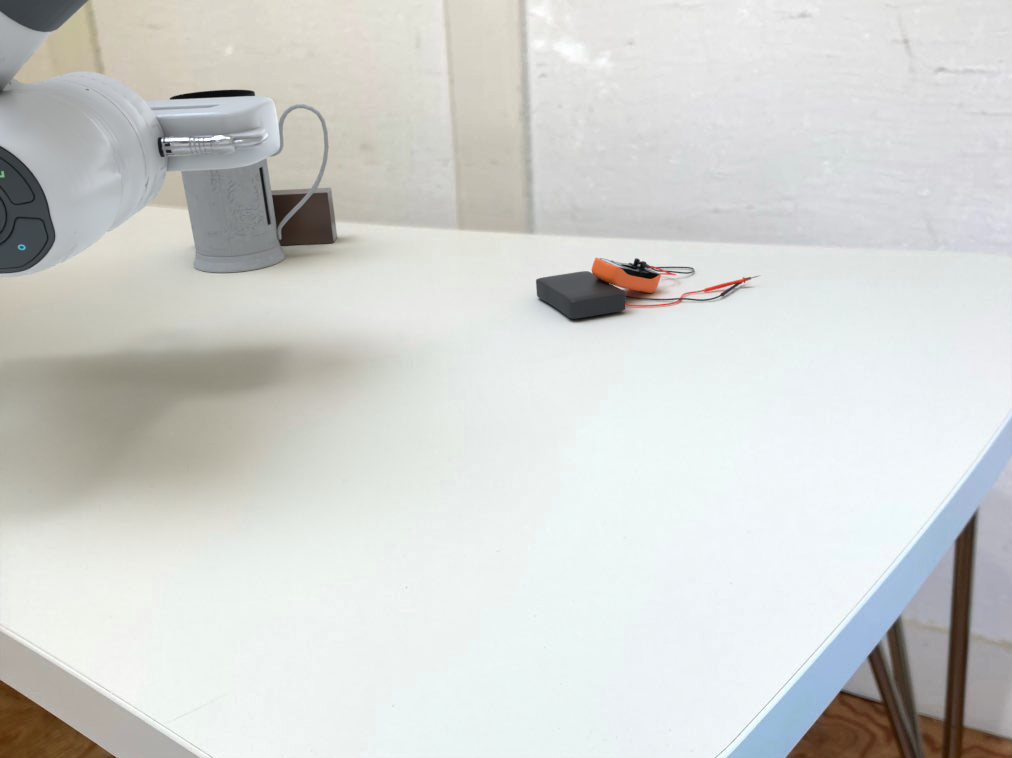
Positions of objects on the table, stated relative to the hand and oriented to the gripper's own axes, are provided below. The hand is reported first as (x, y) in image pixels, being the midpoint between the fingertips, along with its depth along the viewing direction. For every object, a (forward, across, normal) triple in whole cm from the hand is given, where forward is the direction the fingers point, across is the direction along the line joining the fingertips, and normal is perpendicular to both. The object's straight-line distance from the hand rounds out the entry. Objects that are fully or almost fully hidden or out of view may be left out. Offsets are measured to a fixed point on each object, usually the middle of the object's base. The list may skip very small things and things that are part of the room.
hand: (155, 118), depth 77 cm
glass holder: (+21, -2, +16) cm, 26 cm away
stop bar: (+27, 0, +16) cm, 31 cm away
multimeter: (+5, -36, +16) cm, 40 cm away
